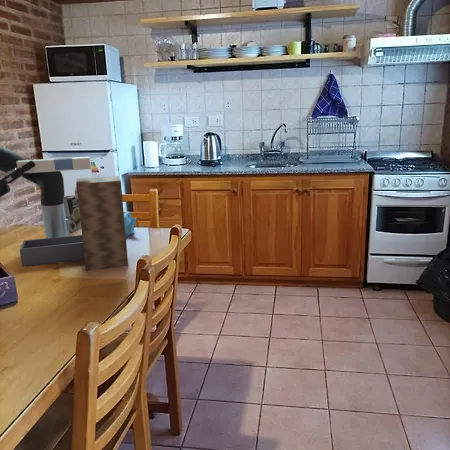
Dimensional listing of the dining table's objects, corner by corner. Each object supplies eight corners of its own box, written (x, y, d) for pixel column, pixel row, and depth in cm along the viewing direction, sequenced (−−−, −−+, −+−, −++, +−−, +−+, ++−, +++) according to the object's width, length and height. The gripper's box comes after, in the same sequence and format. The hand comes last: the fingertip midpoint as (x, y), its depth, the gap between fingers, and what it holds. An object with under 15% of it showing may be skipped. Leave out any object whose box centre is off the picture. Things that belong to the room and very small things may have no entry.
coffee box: (73, 231, 210) (69, 199, 206) (61, 231, 212) (56, 198, 208) (82, 226, 219) (79, 195, 215) (71, 226, 220) (67, 195, 216)
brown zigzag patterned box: (83, 271, 158) (73, 183, 150) (84, 260, 170) (74, 178, 161) (128, 265, 163) (120, 180, 155) (125, 255, 174) (118, 175, 166)
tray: (22, 267, 164) (19, 249, 163) (26, 257, 176) (23, 240, 174) (107, 257, 173) (105, 240, 171) (106, 248, 184) (104, 232, 182)
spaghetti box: (18, 173, 150) (16, 162, 149) (19, 172, 154) (18, 160, 153) (90, 169, 157) (89, 157, 156) (90, 167, 161) (89, 156, 160)
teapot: (138, 236, 200) (136, 213, 197) (104, 241, 195) (102, 217, 192) (133, 228, 214) (131, 207, 211) (101, 232, 209) (99, 210, 206)
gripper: (-21, 183, 143) (24, 154, 145) (-12, 177, 156) (29, 151, 158) (-5, 202, 146) (39, 173, 148) (2, 194, 159) (43, 168, 161)
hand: (34, 162), depth 153 cm, fingers closed on spaghetti box, 4 cm apart
